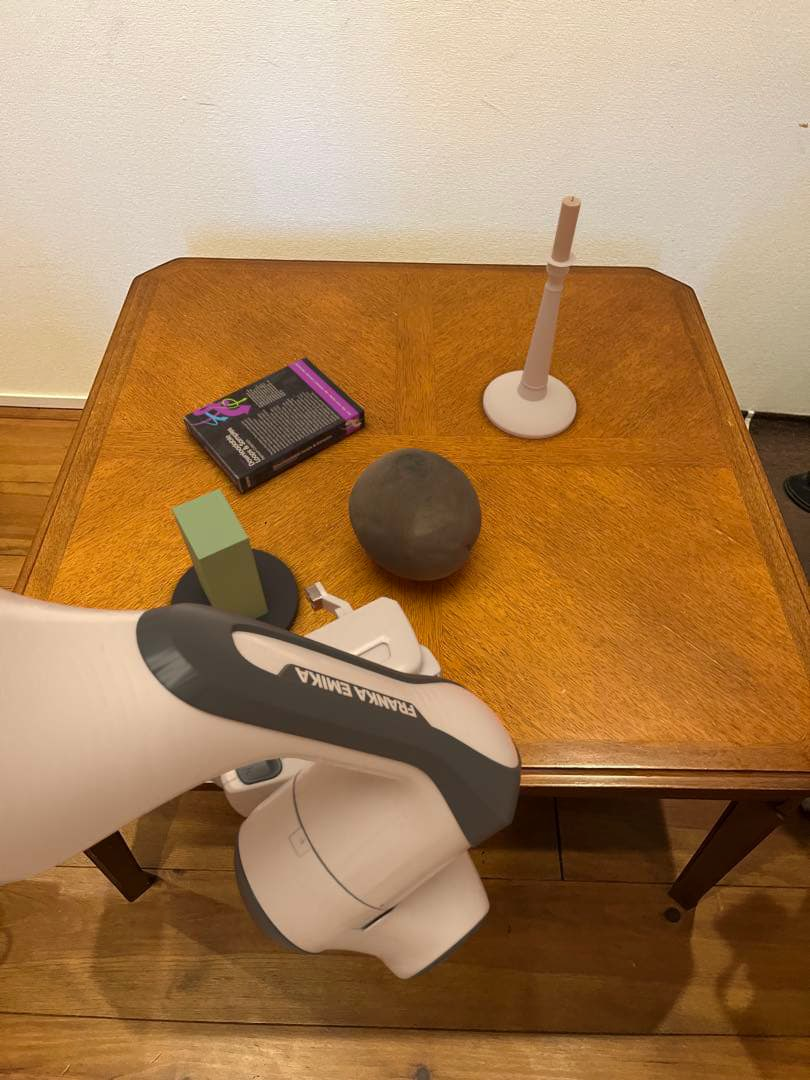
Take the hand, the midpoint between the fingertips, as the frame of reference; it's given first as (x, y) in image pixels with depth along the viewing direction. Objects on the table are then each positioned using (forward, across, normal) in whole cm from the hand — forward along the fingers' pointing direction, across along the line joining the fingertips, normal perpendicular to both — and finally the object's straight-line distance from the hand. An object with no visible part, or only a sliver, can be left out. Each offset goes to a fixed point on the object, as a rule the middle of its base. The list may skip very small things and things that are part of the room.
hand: (262, 612), depth 63 cm
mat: (+12, 0, +16) cm, 20 cm away
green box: (+12, 0, +15) cm, 20 cm away
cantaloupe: (+8, -20, +17) cm, 28 cm away
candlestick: (+22, -47, +17) cm, 55 cm away
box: (+35, -15, +16) cm, 41 cm away
